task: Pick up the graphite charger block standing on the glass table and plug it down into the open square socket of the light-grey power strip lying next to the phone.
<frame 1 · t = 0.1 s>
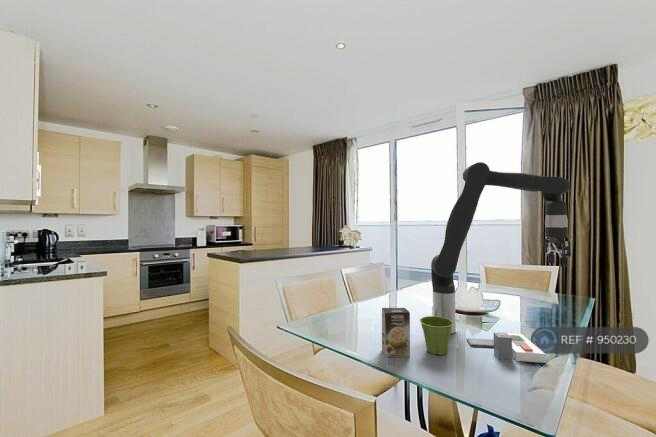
hand: (557, 265, 124), 29 cm above the table, tool pointing down, fingers open, 8 cm apart
power strip: (518, 350, 111), on the table
coffee box: (395, 353, 110), on the table
charger: (502, 357, 106), on the table
phone: (484, 344, 117), on the table
plant pot: (436, 351, 111), on the table
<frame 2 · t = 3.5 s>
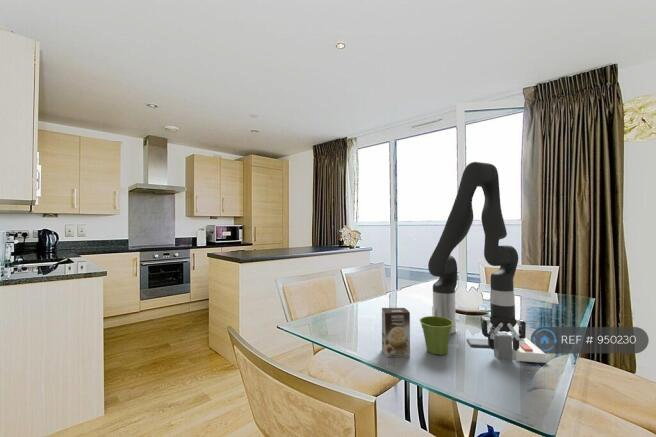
hand: (503, 349, 105), 3 cm above the table, tool pointing down, fingers open, 7 cm apart
nothing on the table moved.
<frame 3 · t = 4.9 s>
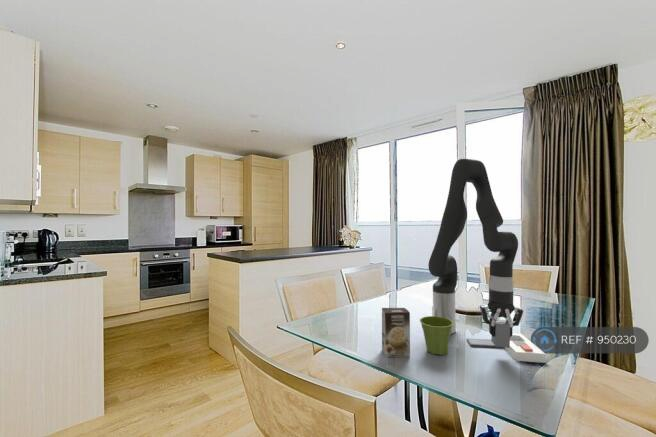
hand: (500, 336, 106), 7 cm above the table, tool pointing down, fingers closed on charger, 4 cm apart
charger: (500, 344, 106), point 4 cm above the table, touching gripper
everything else where it was.
when the fingers open (4 cm above the table, at t = 8.5 s): charger stays where it is, resting on power strip.
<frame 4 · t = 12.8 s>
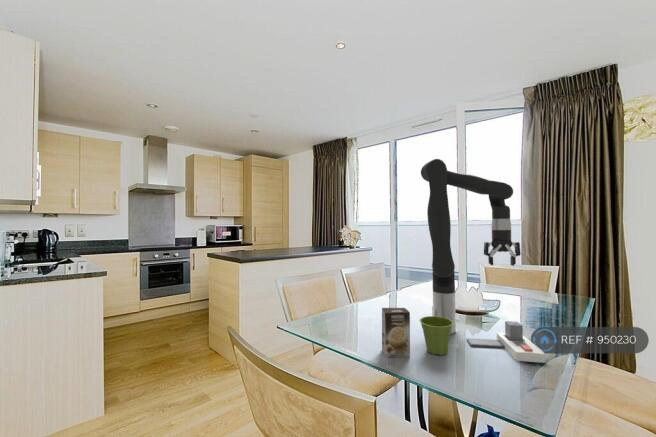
hand: (502, 265, 133), 28 cm above the table, tool pointing down, fingers open, 8 cm apart
charger: (514, 344, 115), point 1 cm above the table, touching power strip
everything else where it was.
at the end: charger 0.1 cm from the target spot on the power strip, point 0.6 cm above the power strip's base; charger tilted 0°; the gripper is holding nothing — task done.
